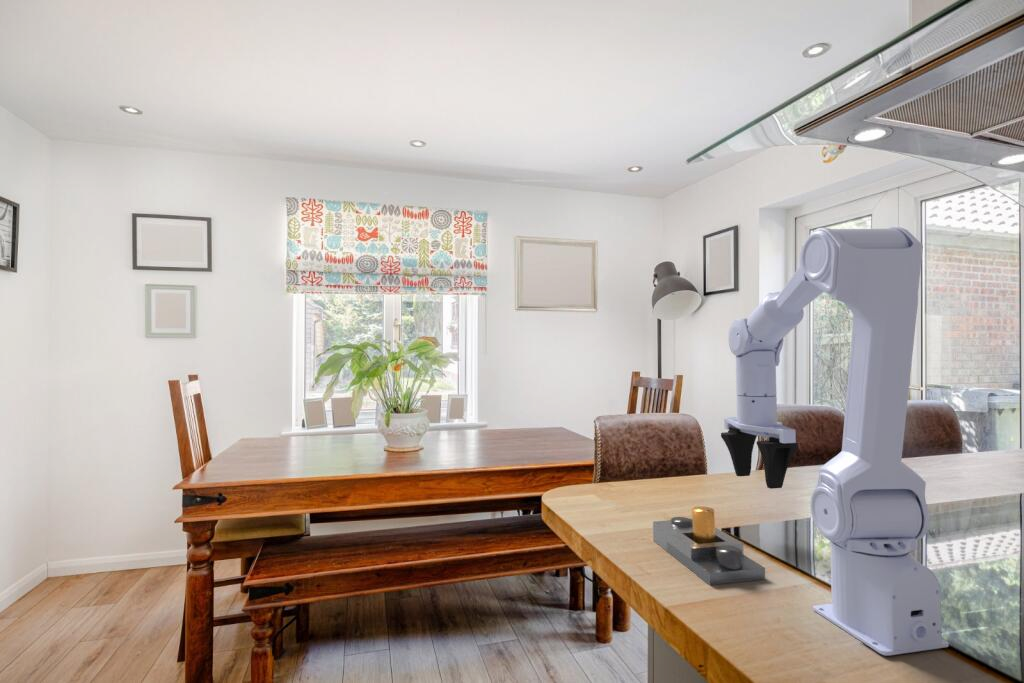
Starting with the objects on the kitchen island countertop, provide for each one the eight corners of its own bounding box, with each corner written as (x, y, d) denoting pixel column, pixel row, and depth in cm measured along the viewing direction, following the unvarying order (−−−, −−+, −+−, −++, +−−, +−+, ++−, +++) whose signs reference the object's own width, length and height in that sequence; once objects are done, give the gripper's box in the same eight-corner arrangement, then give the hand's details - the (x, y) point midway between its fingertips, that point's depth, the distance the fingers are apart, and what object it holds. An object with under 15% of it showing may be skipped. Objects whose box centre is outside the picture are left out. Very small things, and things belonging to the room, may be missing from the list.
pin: (720, 560, 74) (718, 511, 74) (700, 562, 73) (698, 513, 73) (709, 552, 77) (707, 505, 77) (690, 554, 76) (688, 507, 76)
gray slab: (765, 579, 68) (764, 552, 68) (709, 585, 66) (709, 557, 66) (699, 536, 83) (698, 514, 84) (653, 540, 82) (652, 518, 82)
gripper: (813, 398, 75) (815, 492, 75) (749, 391, 89) (751, 469, 89) (770, 400, 74) (772, 495, 73) (712, 392, 88) (714, 471, 88)
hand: (758, 481), depth 81 cm, fingers open, 7 cm apart
